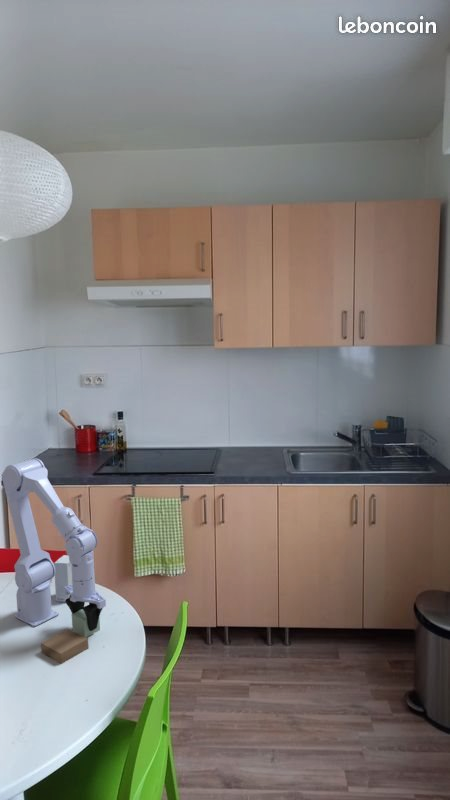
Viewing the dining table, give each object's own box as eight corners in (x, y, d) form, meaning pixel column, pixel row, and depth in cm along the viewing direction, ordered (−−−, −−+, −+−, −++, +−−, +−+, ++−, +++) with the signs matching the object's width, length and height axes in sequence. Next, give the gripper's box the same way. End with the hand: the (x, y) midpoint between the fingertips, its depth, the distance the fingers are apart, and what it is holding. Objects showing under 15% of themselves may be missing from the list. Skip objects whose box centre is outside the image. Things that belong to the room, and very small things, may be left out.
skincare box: (69, 602, 165) (66, 563, 163) (55, 601, 166) (53, 562, 164) (78, 593, 171) (76, 555, 169) (65, 592, 171) (63, 554, 170)
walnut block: (41, 654, 139) (40, 643, 139) (68, 639, 146) (67, 628, 145) (61, 665, 135) (61, 653, 134) (88, 649, 141) (87, 638, 140)
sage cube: (72, 632, 148) (71, 614, 148) (87, 624, 152) (86, 606, 152) (84, 638, 145) (83, 620, 145) (100, 629, 149) (99, 612, 149)
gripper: (53, 575, 148) (56, 624, 150) (89, 590, 139) (91, 641, 141) (75, 566, 154) (78, 613, 156) (110, 579, 145) (113, 629, 147)
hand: (86, 626), depth 149 cm, fingers closed on sage cube, 5 cm apart
